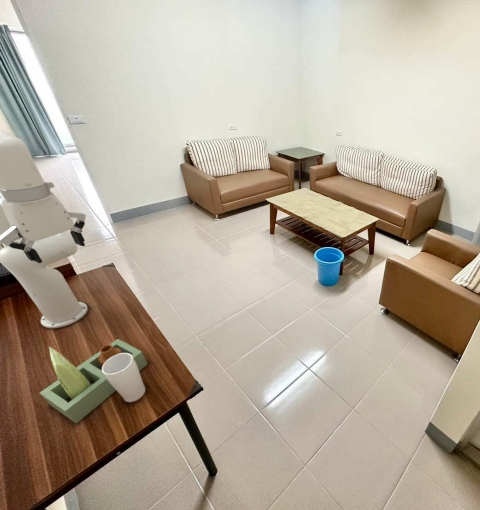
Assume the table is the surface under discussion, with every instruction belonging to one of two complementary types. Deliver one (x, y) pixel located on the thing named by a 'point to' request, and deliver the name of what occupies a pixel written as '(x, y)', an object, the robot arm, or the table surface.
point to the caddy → (92, 394)
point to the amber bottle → (108, 353)
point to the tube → (68, 375)
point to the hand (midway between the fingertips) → (60, 252)
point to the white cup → (124, 376)
